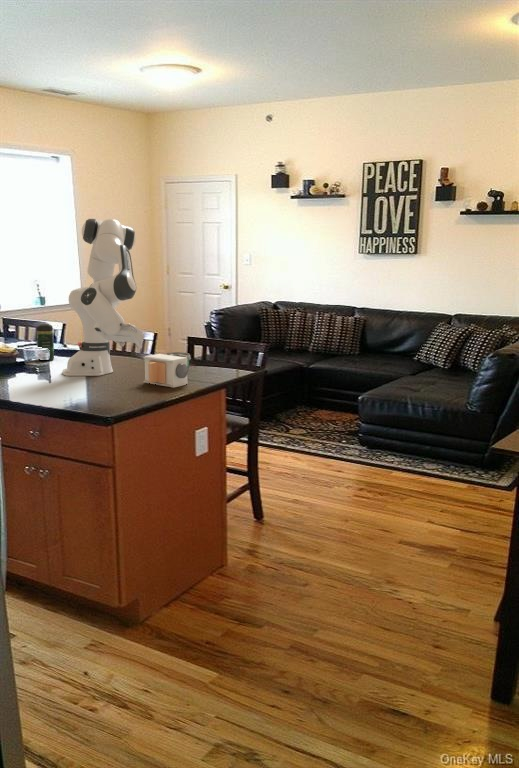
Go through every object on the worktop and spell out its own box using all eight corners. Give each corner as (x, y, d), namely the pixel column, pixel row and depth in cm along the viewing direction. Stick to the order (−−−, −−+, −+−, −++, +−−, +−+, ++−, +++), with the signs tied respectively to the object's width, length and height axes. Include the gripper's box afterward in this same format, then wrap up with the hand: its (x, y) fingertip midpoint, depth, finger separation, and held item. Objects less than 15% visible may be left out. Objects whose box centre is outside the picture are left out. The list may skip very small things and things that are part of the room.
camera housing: (143, 383, 276) (143, 356, 274) (159, 379, 284) (159, 353, 282) (174, 388, 266) (174, 361, 264) (190, 384, 274) (190, 357, 272)
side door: (142, 382, 270) (142, 362, 268) (150, 380, 274) (150, 360, 272) (157, 384, 265) (157, 364, 264) (165, 383, 269) (165, 363, 268)
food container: (195, 375, 296) (195, 353, 294) (189, 377, 291) (188, 355, 288) (173, 372, 301) (172, 351, 299) (165, 374, 296) (165, 353, 294)
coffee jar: (54, 361, 325) (52, 324, 322) (38, 361, 323) (36, 324, 319) (54, 358, 334) (52, 322, 331) (38, 358, 332) (36, 322, 328)
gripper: (135, 318, 242) (154, 341, 252) (98, 315, 253) (117, 338, 263) (127, 331, 239) (147, 354, 249) (89, 328, 250) (109, 350, 260)
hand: (131, 346), depth 256 cm, fingers open, 8 cm apart
